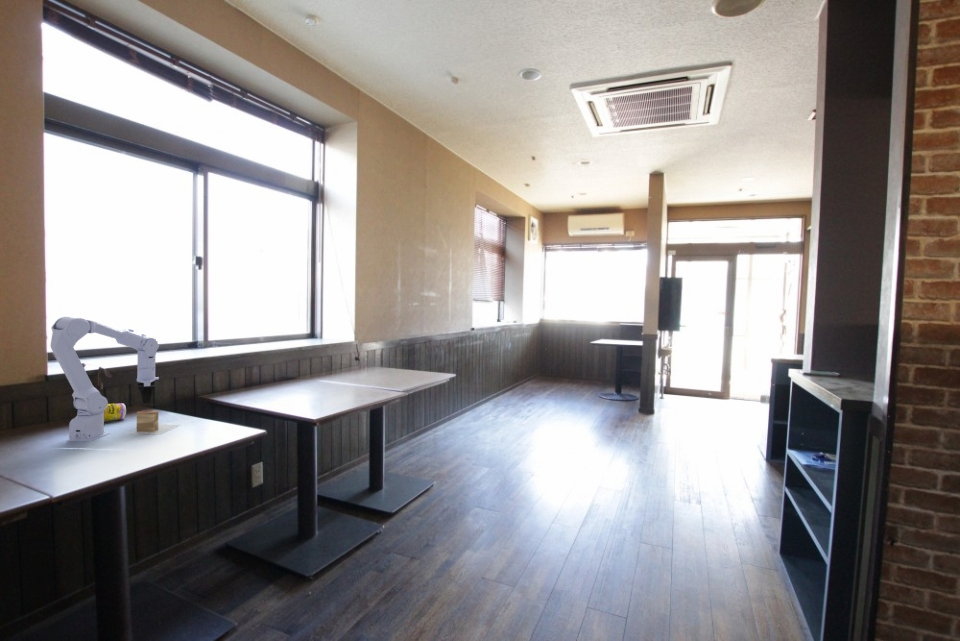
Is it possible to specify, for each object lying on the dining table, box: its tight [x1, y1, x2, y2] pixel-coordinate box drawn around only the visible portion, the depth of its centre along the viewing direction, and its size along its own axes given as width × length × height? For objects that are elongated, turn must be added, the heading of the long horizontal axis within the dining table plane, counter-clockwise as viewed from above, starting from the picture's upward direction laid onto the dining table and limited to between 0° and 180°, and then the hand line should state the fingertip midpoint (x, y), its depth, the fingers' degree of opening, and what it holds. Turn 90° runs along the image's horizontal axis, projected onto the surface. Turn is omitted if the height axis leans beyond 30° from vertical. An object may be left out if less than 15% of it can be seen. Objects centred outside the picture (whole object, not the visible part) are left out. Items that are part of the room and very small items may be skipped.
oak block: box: [136, 410, 159, 432], centre depth 170 cm, size 3×6×7 cm, turn 93°
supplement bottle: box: [104, 402, 127, 422], centre depth 179 cm, size 7×7×13 cm
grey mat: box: [130, 423, 181, 435], centre depth 172 cm, size 12×11×1 cm
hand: (146, 401), depth 177 cm, fingers open, 7 cm apart
